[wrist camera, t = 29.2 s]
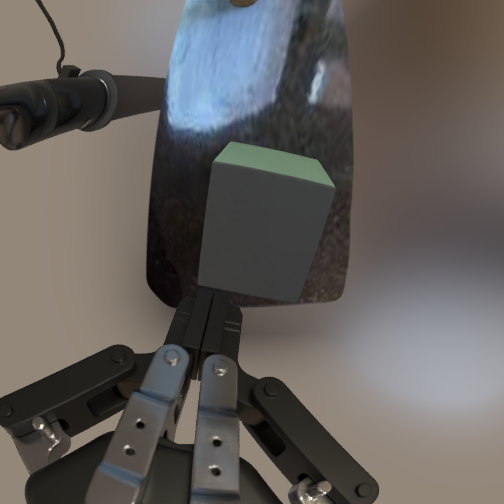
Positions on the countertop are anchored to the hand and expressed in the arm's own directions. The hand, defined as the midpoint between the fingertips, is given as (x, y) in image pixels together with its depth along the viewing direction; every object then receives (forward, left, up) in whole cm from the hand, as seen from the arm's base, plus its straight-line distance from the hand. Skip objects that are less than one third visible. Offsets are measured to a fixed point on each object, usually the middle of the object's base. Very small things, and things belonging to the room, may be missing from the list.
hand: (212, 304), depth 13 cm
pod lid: (+5, -5, -20) cm, 22 cm away
